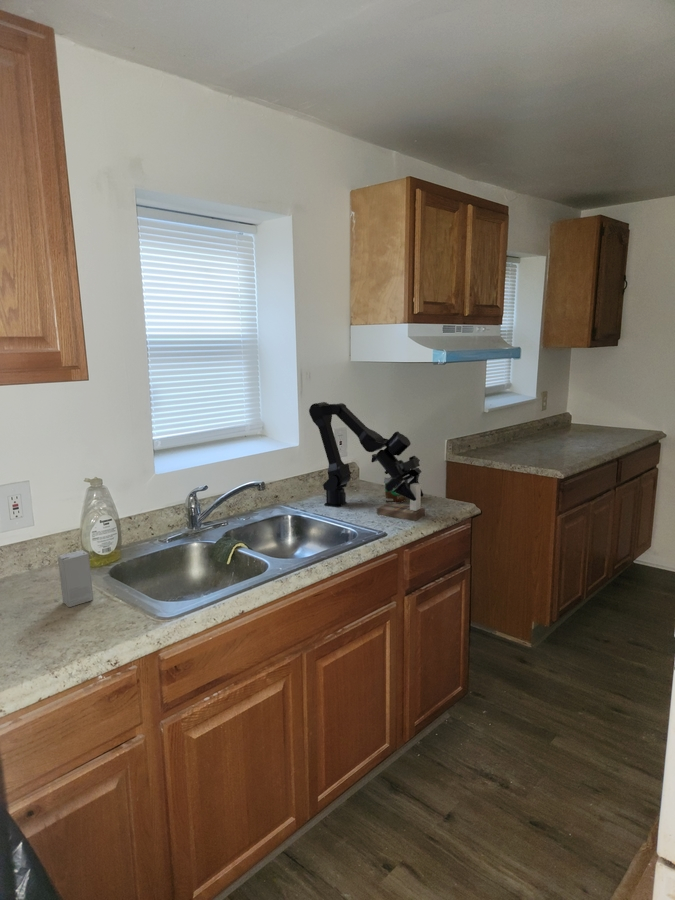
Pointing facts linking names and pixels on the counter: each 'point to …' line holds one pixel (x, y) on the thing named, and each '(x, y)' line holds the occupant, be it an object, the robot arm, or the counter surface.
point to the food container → (392, 494)
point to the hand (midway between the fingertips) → (418, 498)
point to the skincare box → (75, 578)
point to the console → (400, 511)
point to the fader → (417, 493)
